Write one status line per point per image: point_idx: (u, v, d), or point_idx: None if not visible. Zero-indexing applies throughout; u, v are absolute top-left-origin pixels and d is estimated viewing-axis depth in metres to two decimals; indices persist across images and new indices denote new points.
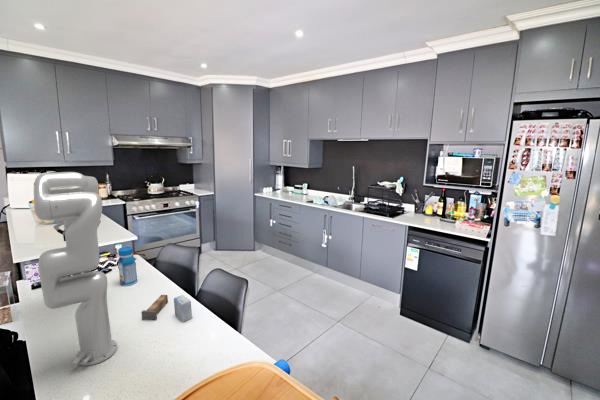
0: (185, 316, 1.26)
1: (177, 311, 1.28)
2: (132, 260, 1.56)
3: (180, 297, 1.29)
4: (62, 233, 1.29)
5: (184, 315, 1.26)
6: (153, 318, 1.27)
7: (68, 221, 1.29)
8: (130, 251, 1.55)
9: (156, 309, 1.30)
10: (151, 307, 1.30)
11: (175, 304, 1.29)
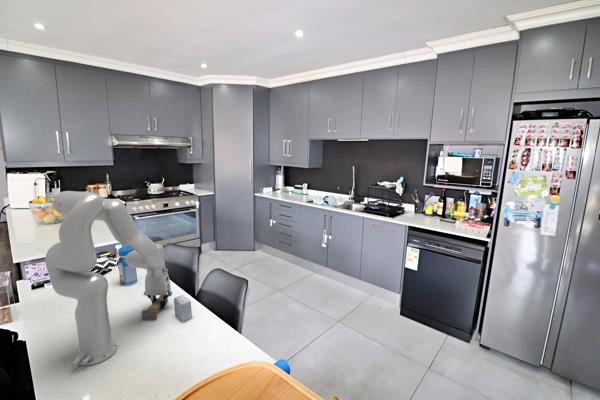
0: (185, 317, 1.26)
1: (177, 311, 1.28)
2: None
3: (180, 297, 1.29)
4: None
5: (184, 315, 1.26)
6: (153, 318, 1.27)
7: None
8: (130, 251, 1.55)
9: (156, 309, 1.30)
10: (151, 307, 1.30)
11: (175, 304, 1.29)
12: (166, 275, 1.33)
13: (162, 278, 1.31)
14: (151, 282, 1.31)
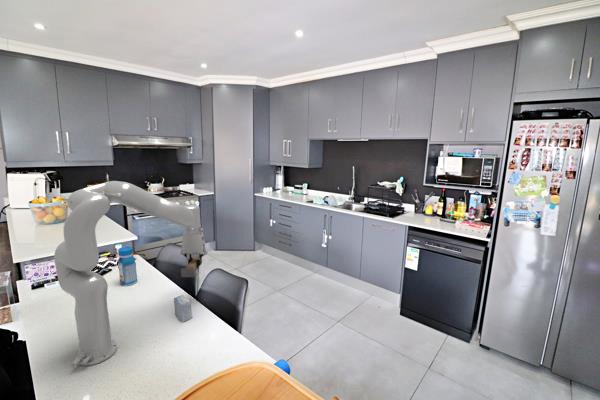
0: (185, 317, 1.26)
1: (177, 311, 1.28)
2: (132, 260, 1.56)
3: (180, 297, 1.29)
4: None
5: (184, 315, 1.26)
6: (192, 275, 1.34)
7: None
8: (130, 251, 1.55)
9: (194, 267, 1.37)
10: (189, 265, 1.37)
11: (175, 304, 1.29)
12: (202, 235, 1.39)
13: (199, 237, 1.37)
14: (188, 240, 1.37)
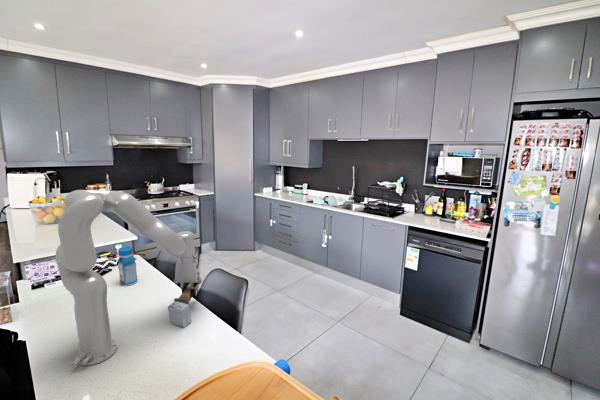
0: (185, 321, 1.23)
1: (174, 318, 1.23)
2: (132, 260, 1.56)
3: (175, 304, 1.24)
4: None
5: (184, 320, 1.22)
6: None
7: None
8: (130, 251, 1.55)
9: (188, 297, 1.31)
10: (183, 295, 1.30)
11: (171, 312, 1.23)
12: (196, 262, 1.32)
13: (193, 265, 1.30)
14: (181, 269, 1.30)
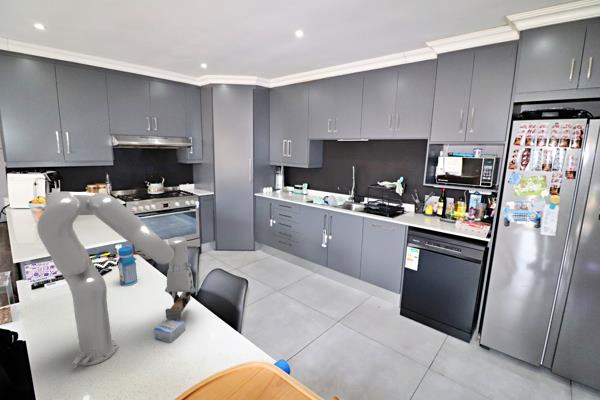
0: (181, 330, 1.18)
1: None
2: (132, 260, 1.56)
3: (158, 335, 1.14)
4: None
5: (180, 332, 1.18)
6: (178, 317, 1.20)
7: None
8: (130, 251, 1.55)
9: (180, 307, 1.23)
10: (175, 305, 1.22)
11: None
12: (189, 270, 1.24)
13: (185, 273, 1.22)
14: (173, 277, 1.22)
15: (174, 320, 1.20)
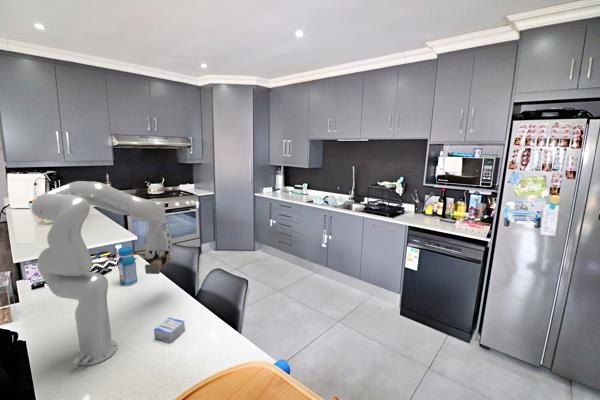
0: (181, 330, 1.18)
1: None
2: (132, 260, 1.56)
3: (158, 335, 1.14)
4: None
5: (180, 332, 1.18)
6: (156, 271, 1.32)
7: None
8: (130, 251, 1.55)
9: (159, 264, 1.36)
10: (154, 262, 1.35)
11: None
12: (167, 231, 1.37)
13: (163, 233, 1.35)
14: (152, 237, 1.35)
15: (174, 320, 1.20)
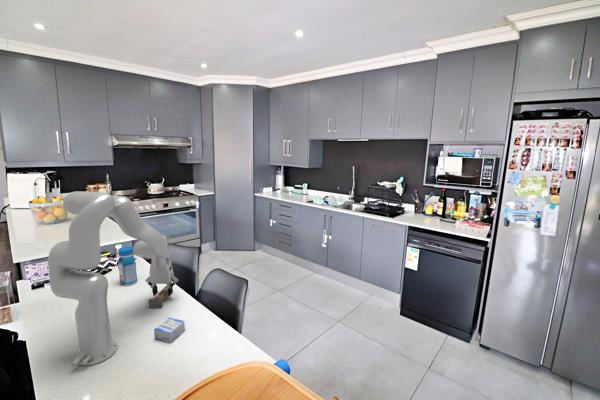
0: (181, 330, 1.18)
1: None
2: (132, 260, 1.56)
3: (158, 335, 1.14)
4: None
5: (180, 332, 1.18)
6: (159, 306, 1.36)
7: None
8: (130, 251, 1.55)
9: (162, 298, 1.39)
10: (157, 296, 1.39)
11: None
12: (169, 265, 1.40)
13: (166, 267, 1.38)
14: (155, 271, 1.38)
15: (174, 320, 1.20)
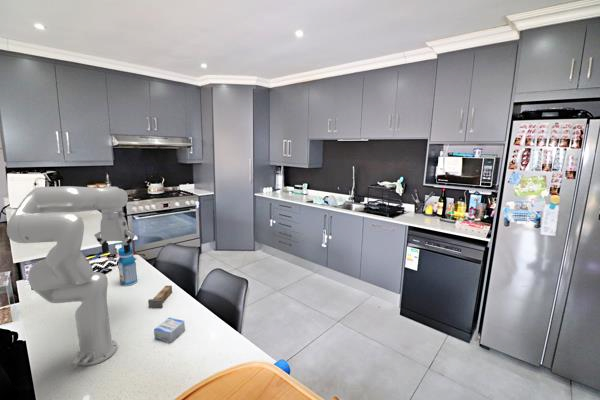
0: (181, 330, 1.18)
1: None
2: (132, 260, 1.56)
3: (158, 335, 1.14)
4: None
5: (180, 332, 1.18)
6: (159, 306, 1.36)
7: None
8: (130, 251, 1.55)
9: (162, 298, 1.39)
10: (157, 296, 1.39)
11: None
12: (123, 220, 1.26)
13: (118, 222, 1.24)
14: (106, 226, 1.24)
15: (174, 320, 1.20)
